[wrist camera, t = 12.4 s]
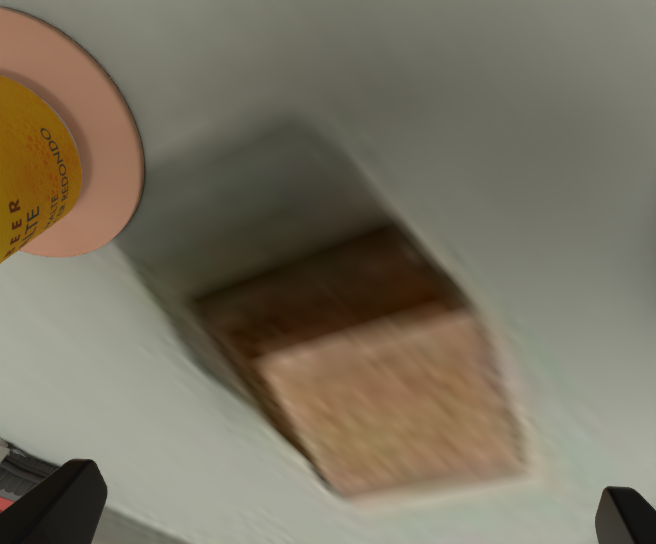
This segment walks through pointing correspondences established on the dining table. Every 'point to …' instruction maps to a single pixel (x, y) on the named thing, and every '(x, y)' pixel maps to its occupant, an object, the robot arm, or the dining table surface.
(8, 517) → the robot arm
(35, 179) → the beer can
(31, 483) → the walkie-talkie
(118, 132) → the peach dome cap
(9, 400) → the dining table surface
